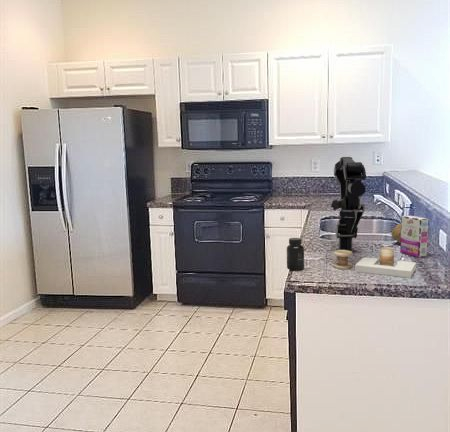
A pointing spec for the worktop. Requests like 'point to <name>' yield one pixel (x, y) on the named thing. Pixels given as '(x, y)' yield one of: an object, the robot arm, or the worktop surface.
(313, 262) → the worktop surface
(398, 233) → the natural sponge
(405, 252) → the candy bar box
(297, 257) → the supplement bottle
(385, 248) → the copper spool
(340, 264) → the bobbin
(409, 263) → the notched board
